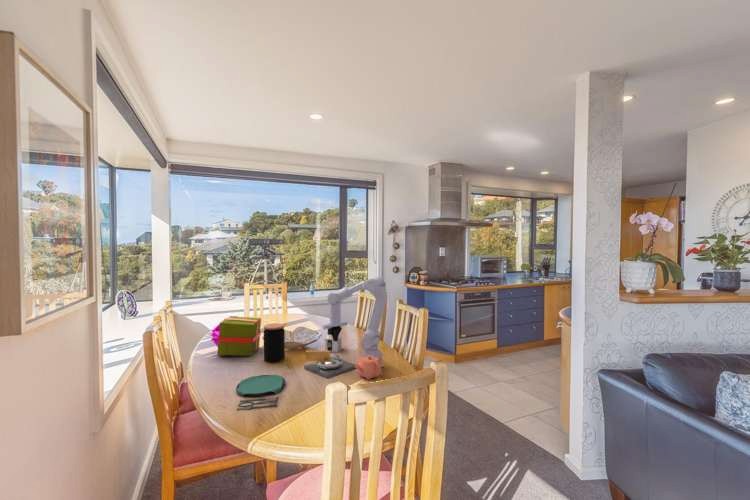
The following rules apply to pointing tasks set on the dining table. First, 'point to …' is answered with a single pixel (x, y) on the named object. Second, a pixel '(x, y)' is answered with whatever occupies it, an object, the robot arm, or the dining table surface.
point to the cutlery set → (259, 389)
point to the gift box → (237, 336)
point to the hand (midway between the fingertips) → (335, 340)
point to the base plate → (329, 372)
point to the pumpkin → (369, 367)
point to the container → (332, 343)
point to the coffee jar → (274, 342)
